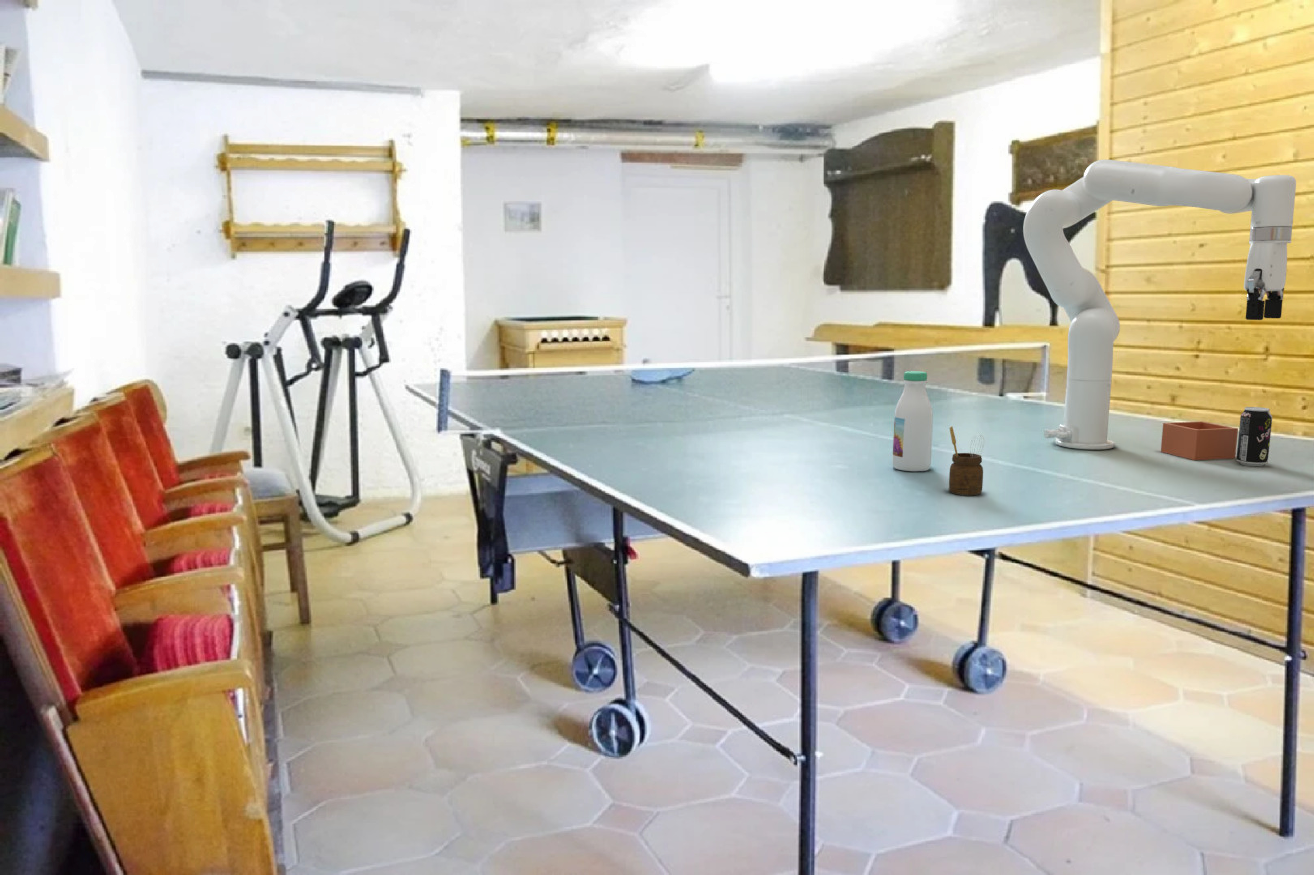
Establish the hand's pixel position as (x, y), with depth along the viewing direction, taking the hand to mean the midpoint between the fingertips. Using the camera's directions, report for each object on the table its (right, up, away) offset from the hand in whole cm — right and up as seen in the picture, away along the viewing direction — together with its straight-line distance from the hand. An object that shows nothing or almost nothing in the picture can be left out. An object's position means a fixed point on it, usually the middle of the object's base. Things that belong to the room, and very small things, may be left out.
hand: (1263, 319), depth 214 cm
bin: (-8, -29, +10) cm, 32 cm away
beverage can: (-3, -31, 0) cm, 31 cm away
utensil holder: (-72, -35, -27) cm, 84 cm away
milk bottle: (-76, -32, -5) cm, 82 cm away
